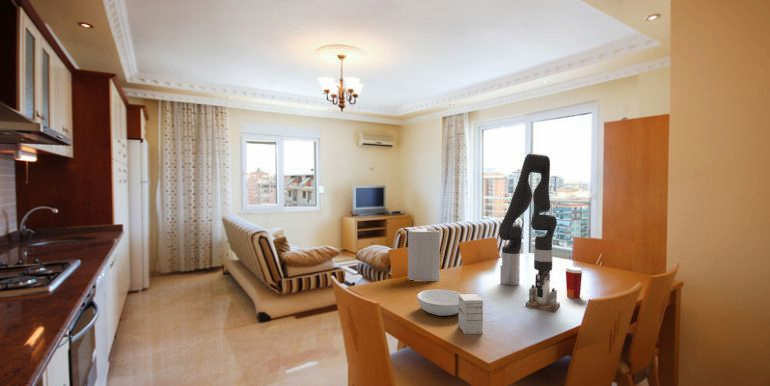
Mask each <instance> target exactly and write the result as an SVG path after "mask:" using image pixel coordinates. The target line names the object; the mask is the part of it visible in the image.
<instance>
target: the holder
mask: <svg viewBox="0 0 770 386" xmlns="http://www.w3.org/2000/svg"><path fill="white" fill-rule="evenodd" d="M528 291H529V292H528V300H527V301H526V302H525V307H528V308H534V309H538V310H542V311H548V312H553V313H555V312H556V311H557V309H559V307H560V306H561V303H560V301H557V300H558V299H557V298H558V297H557V294H558V292H557V291H558V290H557V289H555V287H553V288H552V289H551V290H550V302H549V304H548V305H543V304H538V303H536V288H535V284H532V285H531V287H529V289H528Z"/></svg>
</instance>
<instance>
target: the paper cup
mask: <svg viewBox="0 0 770 386" xmlns="http://www.w3.org/2000/svg"><path fill="white" fill-rule="evenodd" d="M564 272H565V281H566V282H565V283H566V284H565V285H566V288H565V289H566V297H567V298H570V299H573V300H576V299H577V300H578V299H580V297H581V289H582V288H581V287H582V275H583V272H584V271H583V269H582V268H581V267H576V266H575V267H574V266H567V267H565V269H564Z"/></svg>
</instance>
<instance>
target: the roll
mask: <svg viewBox="0 0 770 386" xmlns="http://www.w3.org/2000/svg"><path fill="white" fill-rule="evenodd" d="M550 284H551V283H550V281H549V280H546V282H545V285H543V297H542V298H540V297H537V288H536V303H538V304H543V305H548V304H549V302H550V292H551V290H550ZM539 286H540V284H539Z"/></svg>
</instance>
